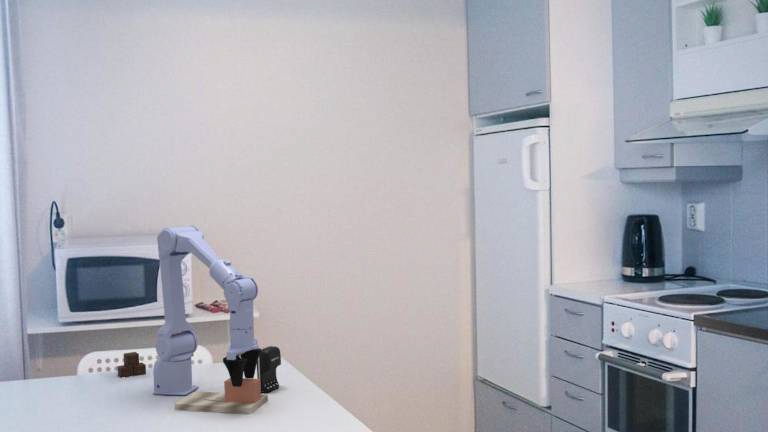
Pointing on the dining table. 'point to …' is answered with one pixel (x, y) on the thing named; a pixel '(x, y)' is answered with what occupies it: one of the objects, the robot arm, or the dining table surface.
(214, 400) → the board
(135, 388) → the dining table surface
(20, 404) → the dining table surface
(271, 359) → the battery charger
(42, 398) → the dining table surface
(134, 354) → the stack of crates
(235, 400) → the block
